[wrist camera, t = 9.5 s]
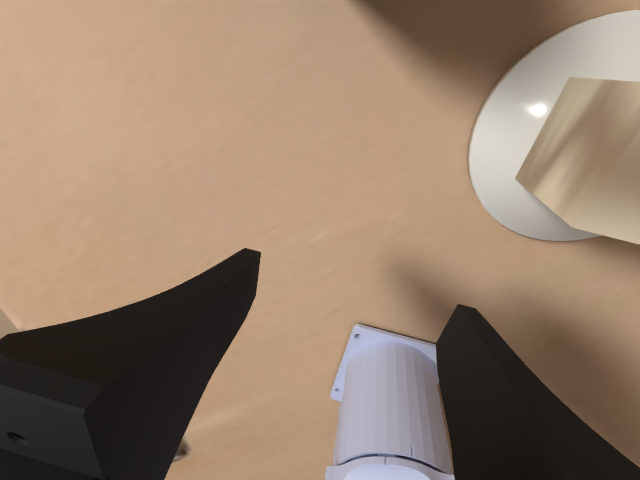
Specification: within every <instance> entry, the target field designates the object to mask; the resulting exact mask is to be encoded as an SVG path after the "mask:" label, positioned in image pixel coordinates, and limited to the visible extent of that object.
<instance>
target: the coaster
mask: <svg viewBox="0 0 640 480" xmlns="http://www.w3.org/2000/svg"><path fill="white" fill-rule="evenodd" d="M569 77H578V78H592V79H606V80H620V81H635V82H640V10H631V11H624V12H618V13H612V14H608V15H603V16H599V17H596V18H592V19H589V20H585V21H582V22H580V23H577V24H575V25H572V26H570V27H568V28H565V29H563V30H561V31H560V32H558V33H556V34H554V35H552V36H550V37H548V38H547V39H545V40H544V41H542V42H541V43H539V44H538V45H536V46H535V47H533V48H532V49H531V50H529V51H528V52H527V53H526V54H525V55H523V56H522V57H521V58H520V59H519V60H517V61H516V62H515V63H514V64H513V65H512V66H511V67H510V68H509V69H508V70H507V71H506V72H505V73H504V74H503V76H502V77H501V78H500V79H499V81H498V82H497V83H496V84H495V86H494V87H493V88H492V90H491V91H490V93H489V94H488V96H487V98H486V99H485V101H484V102H483V104H482V106H481V108H480V110H479V112H478V114H477V116H476V119H475V122H474V125H473V127H472V130H471V134H470V139H469V143H468V153H467V163H468V173H469V177H470V182H471V184H472V187H473V190H474V192H475V194H476V195H477V197H478V199H479V201H480V202H481V204H482V205H483V206H484V208H485V209H486V210H487V211H488V212H489V214H490V215H491V216H492V217H493V218H494V219H496V220H497V221H498V222H499V223H500V224H502V225H504V226H505V227H507V228H508V229H510V230H512V231H514V232H516V233H519V234H521V235H524V236H528V237H531V238H536V239H541V240H549V241H573V240H581V239H588V238H592V237H597V236H601V235H600V234H596V233H592V232H588V231H584V230H580V229H576V228H572V227H571V226H570V225H568V224H567V223H566V222H565V221H564V220H563V219H561V218H560V217H559V216H558V215H557V214H556V213H554V212H553V211H552V210H551V209H550V208H549V207H547V206H546V205H545V204H544V203H543V202H542V201H540V200H539V199H538V198H537V197H536V196H535V195H533V194H532V193H531V192H530V191H529V190H528V189H527V188H525V187H524V186H523V185H522V184H521V183H520V182H518V181H517V180H516V179H515V177H516V175H517V173H518V171H519V170H520V168H521V166H522V164H523V162H524V160H525V158H526V157H527V155H528V153H529V151H530V149H531V147H532V145H533V144H534V142H535V140H536V138H537V136H538V134H539V132H540V130H541V129H542V127H543V125H544V123H545V121H546V119H547V117H548V116H549V114H550V112H551V110H552V108H553V106H554V104H555V103H556V101H557V99H558V97H559V95H560V93H561V91H562V90H563V88H564V86H565V84H566V82H567V80H568V78H569Z"/></svg>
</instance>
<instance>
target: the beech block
mask: <svg viewBox="0 0 640 480" xmlns="http://www.w3.org/2000/svg"><path fill="white" fill-rule="evenodd" d="M515 179H516V180H517V181H518V182H520V183H521V184H522V185H523V186H524V187H525V188H527V189H528V190H529V191H530V192H531V193H532V194H533V195H535V196H536V197H537V198H538V199H539V200H540V201H542V202H543V203H544V204H545V205H546V206H547V207H549V208H550V209H551V210H552V211H553V212H554V213H556V214H557V215H558V216H559V217H560V218H561V219H563V220H564V221H565V222H566V223H567V224H568V225H570V226H571V227H572V228H576V229H580V230H584V231H588V232H592V233H596V234H600V235H604V236H608V237H612V238H616V239H620V240H624V241H628V242H632V243H636V244H640V82H635V81H620V80H606V79H592V78H578V77H569V78H568V80H567V82H566V84H565V86H564V88H563V90H562V91H561V93H560V95H559V97H558V99H557V101H556V103H555V104H554V106H553V108H552V110H551V112H550V114H549V116H548V117H547V119H546V121H545V123H544V125H543V127H542V129H541V130H540V132H539V134H538V136H537V138H536V140H535V142H534V144H533V145H532V147H531V149H530V151H529V153H528V155H527V157H526V158H525V160H524V162H523V164H522V166H521V168H520V170H519V171H518V173H517V175H516V177H515Z"/></svg>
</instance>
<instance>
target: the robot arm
mask: <svg viewBox="0 0 640 480" xmlns="http://www.w3.org/2000/svg"><path fill="white" fill-rule="evenodd" d="M260 257H261V252H258V251H255V250H251V249H247V248H244V249H242V250H241V251H239V252H237V253H235V254H234V255H232V256H230V257H229V258H227V259H226V260H224V261H222V262H221V263H219V264H217V265H216V266H214V267H212V268H210V269H209V270H207V271H205V272H203V273H202V274H200V275H198V276H196V277H194V278H192V279H190V280H188V281H186V282H184V283H182V284H180V285H178V286H176V287H174V288H172V289H169V290H167V291H165V292H162V293H160V294H157V295H155V296H152V297H150V298H147V299H145V300H142V301H139V302H136V303H133V304H130V305H127V306H124V307H121V308H118V309H115V310H112V311H109V312H105V313H102V314H98V315H94V316H91V317H87V318H83V319H79V320H75V321H71V322H67V323H62V324H58V325H53V326H48V327H43V328H38V329H33V330H28V331H23V332H18V333H12V334H7V335H6V336H4V337H3V338H1V339H0V480H164V479H165V477H166V474H167V472H168V470H169V467H170V465H171V463H172V460H173V458H174V456H175V454H176V451H177V449H178V447H179V444H180V442H181V440H182V438H183V435H184V433H185V431H186V429H187V427H188V424H189V422H190V420H191V418H192V416H193V414H194V411H195V409H196V407H197V405H198V403H199V401H200V399H201V397H202V394H203V392H204V390H205V388H206V386H207V384H208V382H209V380H210V378H211V376H212V374H213V373H214V371H215V369H216V367H217V366H218V364H219V362H220V361H221V359H222V357H223V356H224V354H225V352H226V351H227V349H228V347H229V346H230V344H231V342H232V341H233V339H234V337H235V336H236V334H237V332H238V331H239V329H240V327H241V326H242V324H243V322H244V320H245V319H246V317H247V314H248V312H249V310H250V308H251V305H252V303H253V301H254V298H255V296H256V290H257V281H258V273H259V265H260ZM356 334H359V335H356ZM438 383H439V384H440V389H441V394H442V399H443V404H444V410H445V415H446V420H447V425H448V430H449V435H450V442H451V448H452V457H453V468H454V475H453V470H452V464H451V458H450V453H449V447H448V441H447V436H446V430H445V424H444V419H443V413H442V407H441V402H440V396H439V390H438ZM330 397H331V398H332V399H333V400H336V401H340V408H339V417H338V425H337V433H336V441H335V450H334V458H333V466H327V468H326V475H325V480H640V468H639V467H638V466H637V465H635V464H634V463H633V462H631V461H630V460H629V459H628V458H626V457H625V456H624V455H623V454H621V453H620V452H619V451H618V450H616V449H615V448H614V447H613V446H612V445H610V444H609V443H608V442H607V441H606V440H604V439H603V438H602V437H601V436H600V435H598V434H597V433H596V432H595V431H594V430H592V429H591V428H590V427H589V426H588V425H587V424H586V423H584V422H583V421H582V420H581V419H580V418H579V417H578V416H577V415H576V414H575V413H573V412H572V411H571V410H570V409H569V408H568V407H567V406H566V405H565V404H564V403H563V402H562V401H561V400H559V399H558V398H557V397H556V396H555V395H554V394H553V393H552V392H551V391H550V390H549V389H548V388H547V387H546V386H545V385H544V384H543V383H542V382H541V381H540V380H539V378H538V377H537V376H536V375H535V374H534V373H533V372H532V371H531V370H530V369H529V368H528V367H527V366H526V365H525V364H524V363H523V361H522V360H521V359H520V358H519V357H518V356H517V355H516V354H515V353H514V351H513V350H512V349H511V348H510V347H509V346H508V345H507V343H506V342H505V341H504V340H503V339H502V338H501V336H500V335H499V334H498V333H497V332H496V331H495V330H494V328H493V327H492V326H491V325H490V324H489V323H488V322H487V320H486V319H485V318H484V317H483V316H482V315H481V314H480V313H479V312H478V311H477V310H476V309H475V308H472V307H468V306H464V305H460V304H458V305H457V307H456V308H455V310H454V312H453V314H452V316H451V317H450V319H449V321H448V323H447V325H446V326H445V328H444V330H443V332H442V334H441V335H440V337H439V339H438V341H437V343H436V344H432V343H428V342H425V341H421V340H417V339H414V338H410V337H406V336H402V335H399V334H395V333H391V332H388V331H384V330H380V329H376V328H373V327H369V326H365V325H362V324H356V325H355V326H354V327H353V330H352V332H351V335H350V338H349V341H348V344H347V347H346V350H345V352H344V355H343V358H342V361H341V364H340V367H339V370H338V372H337V375H336V378H335V381H334V384H333V387H332V390H331V393H330Z"/></svg>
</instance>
